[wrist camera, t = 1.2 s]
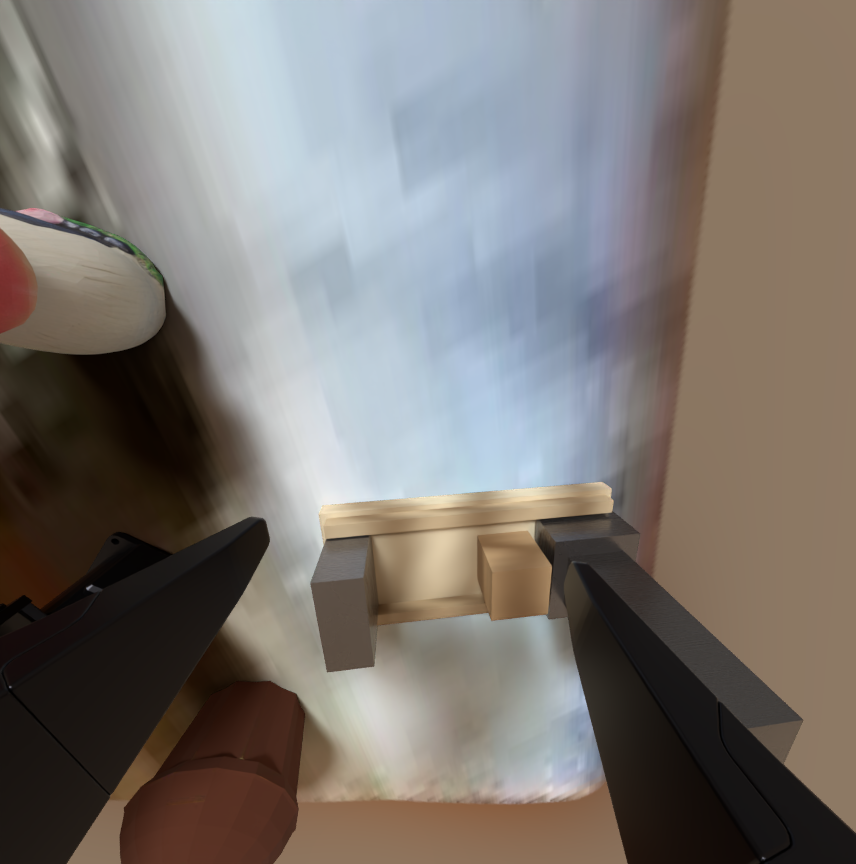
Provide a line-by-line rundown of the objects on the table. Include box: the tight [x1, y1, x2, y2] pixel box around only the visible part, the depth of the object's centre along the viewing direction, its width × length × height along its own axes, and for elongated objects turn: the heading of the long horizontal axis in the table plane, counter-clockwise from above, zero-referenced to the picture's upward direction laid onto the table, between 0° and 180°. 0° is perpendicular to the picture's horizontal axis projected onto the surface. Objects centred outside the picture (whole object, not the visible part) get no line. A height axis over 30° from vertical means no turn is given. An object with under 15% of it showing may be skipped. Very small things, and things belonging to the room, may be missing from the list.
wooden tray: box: [319, 482, 614, 625], centre depth 25 cm, size 22×10×2 cm, turn 92°
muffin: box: [120, 681, 305, 864], centre depth 24 cm, size 12×11×10 cm
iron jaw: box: [311, 535, 379, 672], centre depth 21 cm, size 3×7×5 cm, turn 3°
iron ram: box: [535, 511, 803, 764], centre depth 19 cm, size 6×7×13 cm
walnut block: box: [477, 530, 552, 621], centre depth 23 cm, size 4×4×4 cm
